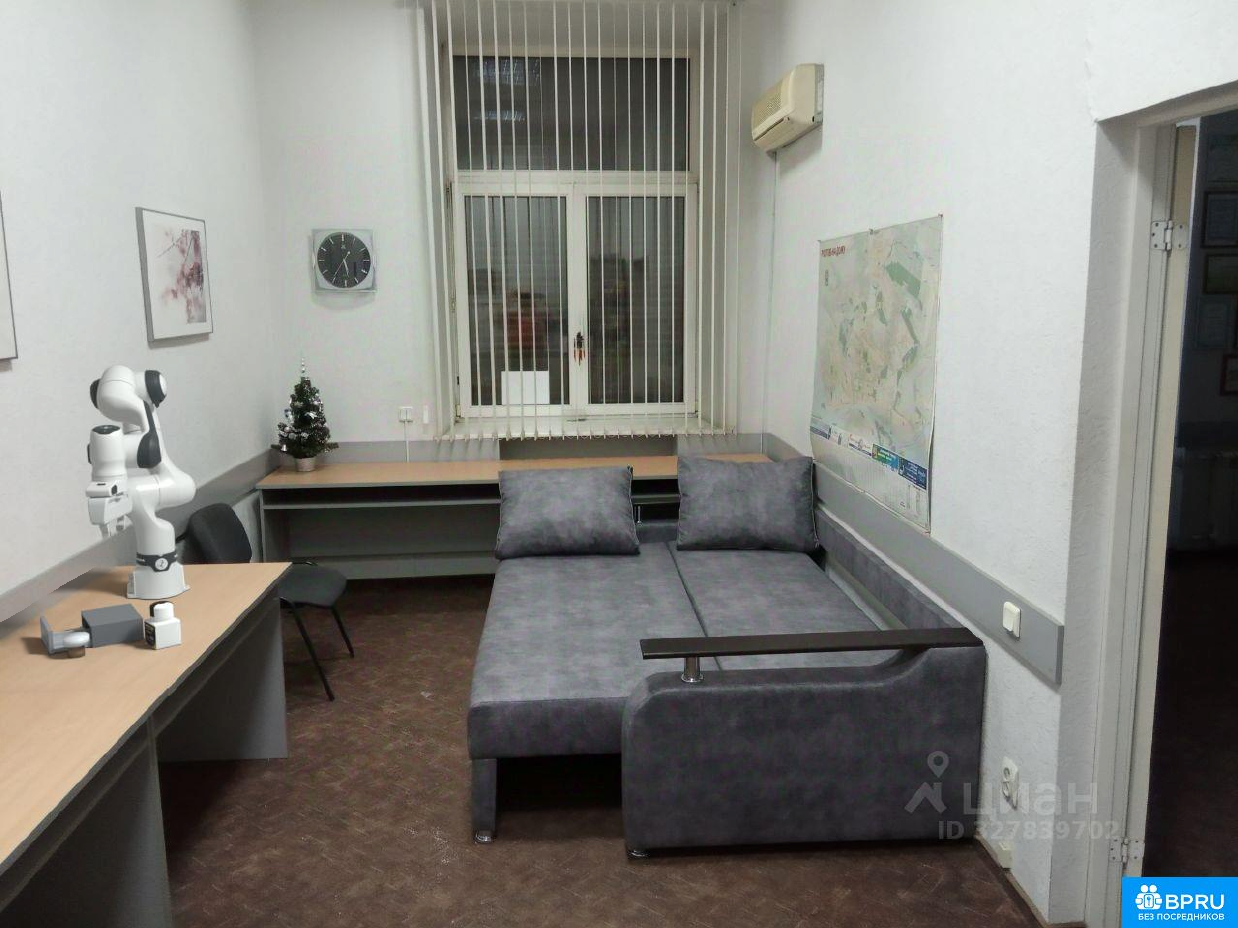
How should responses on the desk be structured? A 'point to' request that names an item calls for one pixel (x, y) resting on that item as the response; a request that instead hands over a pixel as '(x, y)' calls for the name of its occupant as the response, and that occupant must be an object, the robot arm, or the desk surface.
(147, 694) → the desk surface
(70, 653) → the brown rounded piece
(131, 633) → the housing
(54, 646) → the tray
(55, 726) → the desk surface
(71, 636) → the disc
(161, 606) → the medicine bottle
